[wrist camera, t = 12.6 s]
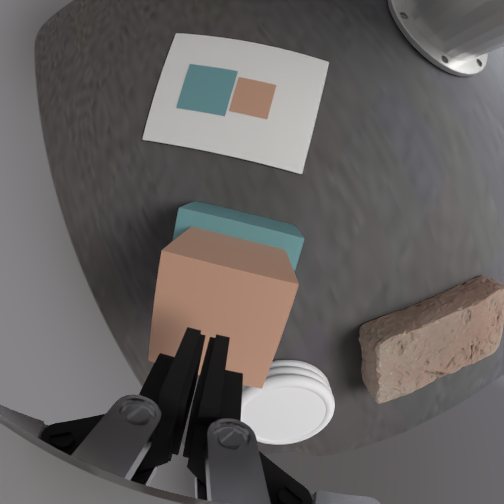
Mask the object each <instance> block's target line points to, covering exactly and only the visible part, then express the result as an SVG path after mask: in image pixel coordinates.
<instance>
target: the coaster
mask: <svg viewBox="0 0 504 504" xmlns="http://www.w3.org/2000/svg"><path fill="white" fill-rule="evenodd" d="M334 408H335V402H334V397H333V395H332V391H331V388H330V385H329V382H328V379H327V378H326V376H325V375H324V374H323V373H322V372H321V371H320V370H319V369H318V368H316V367H315V366H313V365H311V364H309V363H306V362H303V361H299V360H287V359H285V360H275V361H272V364H271V366H270V369H269V372H268V374H267V377H266V380H265V382H264V385H263V387H262V389H261V388H256V387H250V386H245V385H243V386H242V405H241V422H244V423H245V424H247V425H248V426H250V428H251V429H252V430H253V431H254V433H255V436H256V440H257V441H259V442H262V443H267V444H290V443H295V442H299V441H302V440H305V439H307V438H310V437H312V436H313V435H315V434H317V433H318V432H319V431H321V430H322V429H323V428H324V427H325V426H326V425H327V424H328V423H329V421H330V420H331V418H332V416H333V413H334Z"/></svg>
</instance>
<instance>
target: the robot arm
mask: <svg viewBox="0 0 504 504" xmlns="http://www.w3.org/2000/svg"><path fill="white" fill-rule="evenodd" d="M388 6H389V9H390V12H391V15H392V17H393V19H394V21H395V22H396V24H397V26H398V28H399V29H400V30H401V32H402V33H403V35H404V36H405V37H406V38H407V40H408V41H409V42H410V43H411V44H412V45H413V47H414V48H415V49H417V50H418V51H419V52H420V53H421V54H422V55H423V56H424V57H425V58H426V59H428V60H429V61H430V62H431V63H433V64H434V65H436V66H437V67H439V68H440V69H442V70H444V71H446V72H448V73H450V74H453V75H457V76H463V77H468V76H472V75H475V74H477V73H480V72H481V71H482V70H483V69H484V67H485V65H486V63H487V57H488V52H490V51H493V50H495V49H498V48H500V47H503V46H504V0H388ZM205 336H206V335H202V334H201V330H197V329H193V328H189V327H187V329H186V331H185V334H184V336H183V338H182V341H181V343H180V345H179V348H178V350H177V353H176V355H175V357H173V356H169V355H166V354H162V353H160V354H159V355H158V357H157V359H156V361H155V363H154V365H153V367H152V369H151V371H150V373H149V375H148V377H147V379H146V381H145V383H144V385H143V387H142V390H141V392H140V394H139V395H127V396H124V397H121V398H120V399H119V400H118V401H116V403H115V404H114V405H113V406H112V407H111V408H110V410H109V411H108V412H107V413H106V414H103V415H99V416H93V417H89V418H83V419H78V420H73V421H67V422H61V423H55V424H52V425H49V426H48V425H45V424H44V422H43V421H41V420H38V419H35V418H32V417H30V416H27V415H24V414H22V413H19V412H17V411H14V410H11V409H9V408H7V407H4V406H2V405H0V504H380V503H379V502H378V501H377V500H375V499H374V498H371V497H365V496H354V495H345V494H338V493H331V492H324V491H318V490H317V491H316V492H315V493H314V492H309V491H308V490H307V489H306V488H305V487H304V486H303V485H301V484H300V483H299V482H297V481H296V480H295V479H293V478H292V477H291V476H289V475H288V474H287V473H285V472H284V471H283V470H281V469H280V468H279V467H278V466H277V465H275V464H274V463H273V462H272V461H270V460H269V459H268V458H267V457H266V456H264V455H263V454H262V453H261V452H260V451H259V449H258V444H257V440H256V436H255V433H254V431H253V430H252V429H251V428H250V426H248V425H247V424H245V423H244V422H241V405H242V386H243V373H239V372H234V371H229V370H225V369H226V362H227V355H228V348H229V341H230V337H226V336H222V335H217V334H216V338H214V337H210V338H209V342H208V346H207V350H206V353H205V357H204V361H203V365H202V369H201V373H200V376H199V380H198V384H197V388H196V392H195V396H194V400H193V404H192V409H191V414H190V420H189V425H188V430H187V436H186V441H185V447H184V453H183V456H184V457H188V458H189V460H188V465H187V467H188V468H189V470H190V471H191V472H192V473H193V474H194V475H195V476H196V477H195V498H192V497H187V496H183V495H179V494H174V493H170V492H167V491H163V490H159V489H155V488H152V487H149V484H150V482H151V481H152V479H153V477H154V475H155V473H156V471H157V468H158V466H159V465H162V464H165V463H167V462H168V461H171V457H172V454H176V455H178V453H179V449H180V445H181V441H182V437H183V433H184V429H185V426H186V422H187V418H188V414H189V410H190V406H191V402H192V398H193V394H194V390H195V386H196V381H197V376H198V371H199V366H200V361H201V356H202V351H203V346H204V341H205Z"/></svg>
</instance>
